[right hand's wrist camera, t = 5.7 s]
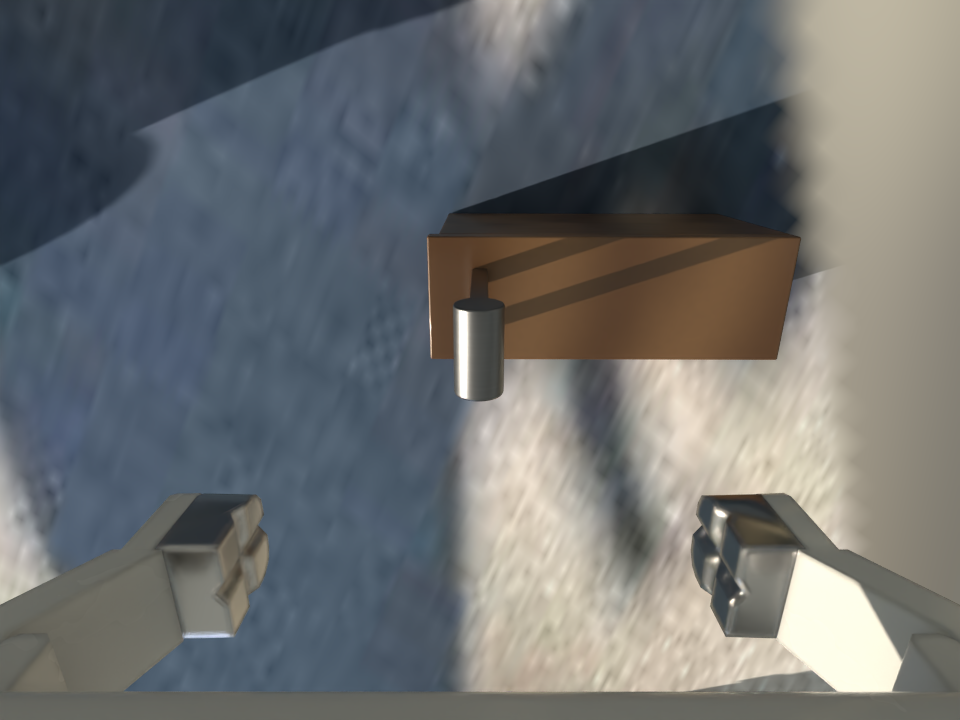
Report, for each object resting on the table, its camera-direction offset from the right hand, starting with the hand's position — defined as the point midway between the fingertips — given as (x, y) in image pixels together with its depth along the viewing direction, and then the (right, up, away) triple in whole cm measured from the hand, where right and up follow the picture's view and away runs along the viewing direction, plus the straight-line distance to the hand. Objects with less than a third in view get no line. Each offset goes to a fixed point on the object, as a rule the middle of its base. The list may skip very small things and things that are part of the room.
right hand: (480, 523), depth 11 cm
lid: (+6, +6, +16) cm, 18 cm away
